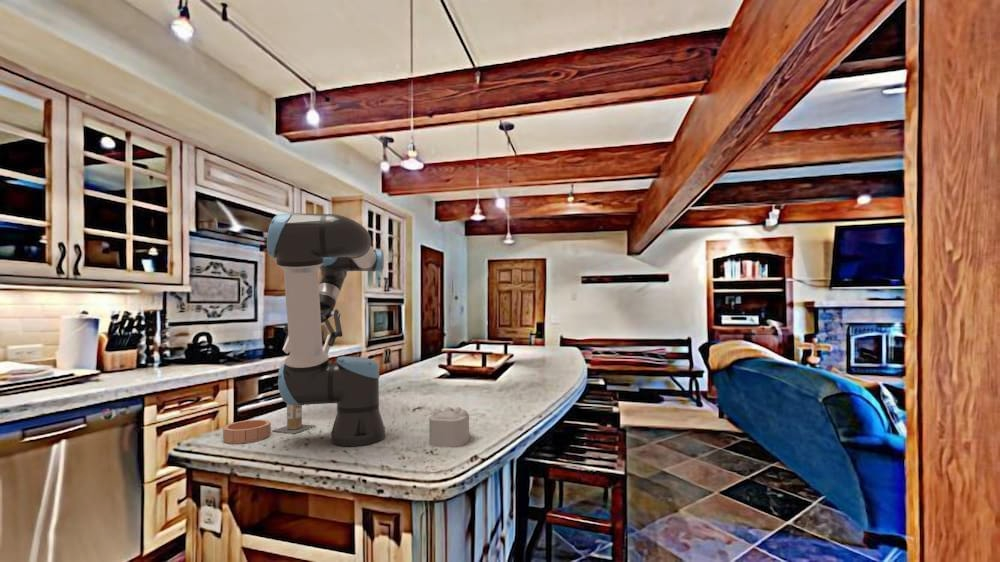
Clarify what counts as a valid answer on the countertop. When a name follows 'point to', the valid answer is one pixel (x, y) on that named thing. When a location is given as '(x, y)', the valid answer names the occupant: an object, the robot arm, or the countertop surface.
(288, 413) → the sprinkles bottle
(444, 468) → the countertop surface
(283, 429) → the rubber mat
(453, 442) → the lumpy-topped squat cylinder
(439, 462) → the countertop surface
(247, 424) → the terracotta bowl
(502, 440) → the countertop surface
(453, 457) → the countertop surface
